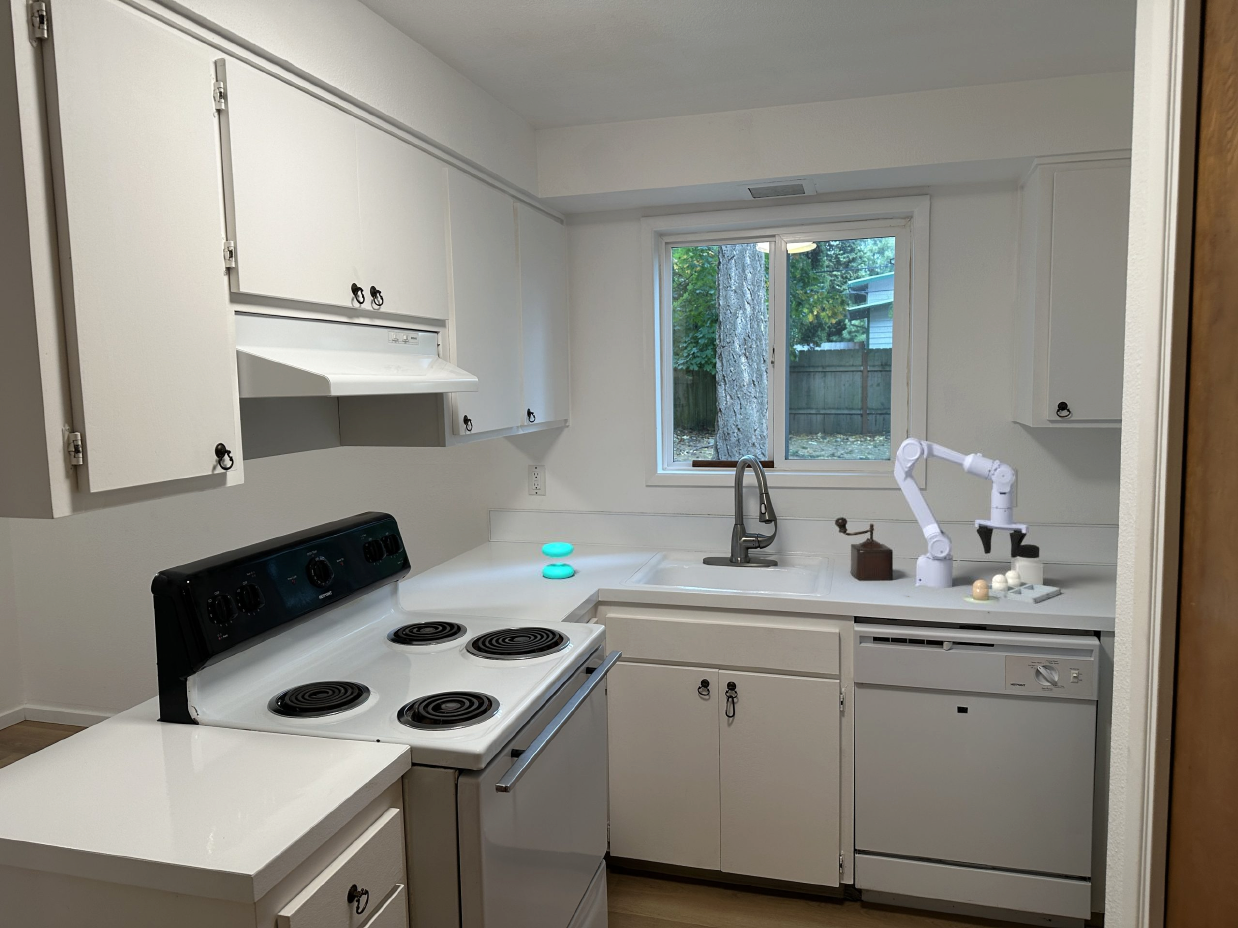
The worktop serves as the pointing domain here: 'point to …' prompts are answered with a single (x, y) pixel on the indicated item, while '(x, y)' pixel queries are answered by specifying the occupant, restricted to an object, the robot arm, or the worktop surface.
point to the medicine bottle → (1028, 564)
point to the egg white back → (1013, 578)
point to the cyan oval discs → (557, 568)
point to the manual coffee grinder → (868, 556)
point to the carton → (1027, 592)
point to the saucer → (970, 598)
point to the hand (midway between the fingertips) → (1000, 555)
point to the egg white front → (1000, 583)
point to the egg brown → (981, 590)
